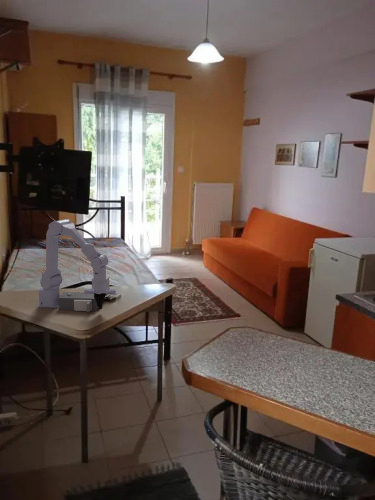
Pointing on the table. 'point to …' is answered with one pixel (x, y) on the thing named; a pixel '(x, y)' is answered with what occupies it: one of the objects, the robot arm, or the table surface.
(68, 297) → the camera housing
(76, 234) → the robot arm
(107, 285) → the small box
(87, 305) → the camera door
